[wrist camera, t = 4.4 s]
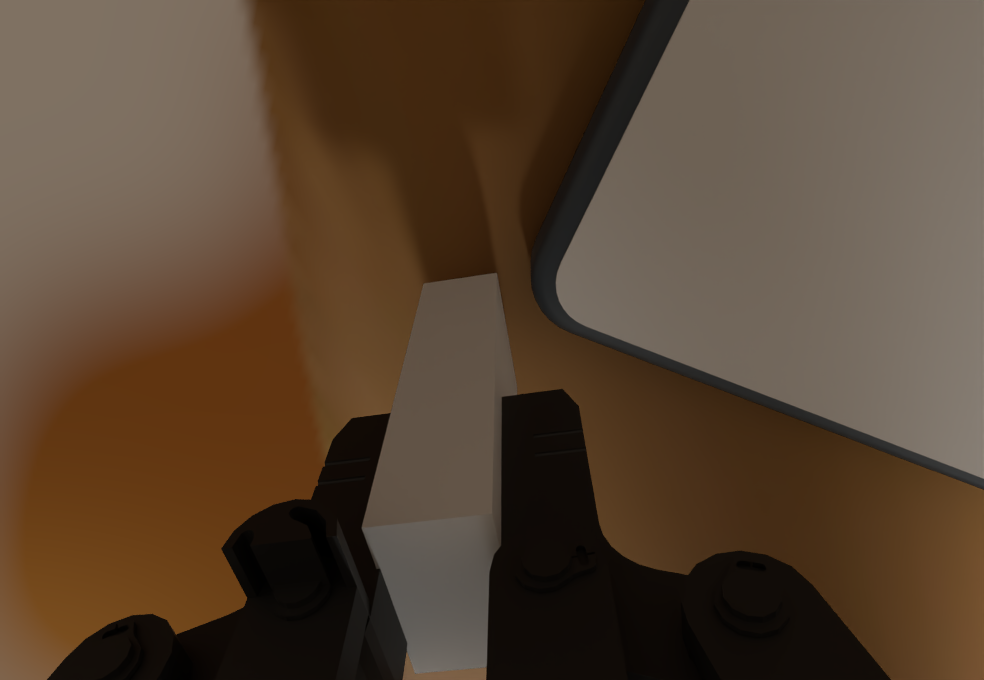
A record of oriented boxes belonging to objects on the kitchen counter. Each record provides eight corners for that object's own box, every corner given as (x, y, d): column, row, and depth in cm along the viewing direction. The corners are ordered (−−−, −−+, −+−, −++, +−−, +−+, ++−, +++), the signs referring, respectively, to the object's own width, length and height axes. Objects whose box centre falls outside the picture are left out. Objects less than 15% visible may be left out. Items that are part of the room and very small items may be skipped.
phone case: (509, 286, 14) (1079, 505, 17) (508, 320, 13) (1129, 554, 15) (723, -183, 10) (1442, 196, 13) (755, -209, 9) (1557, 224, 11)
